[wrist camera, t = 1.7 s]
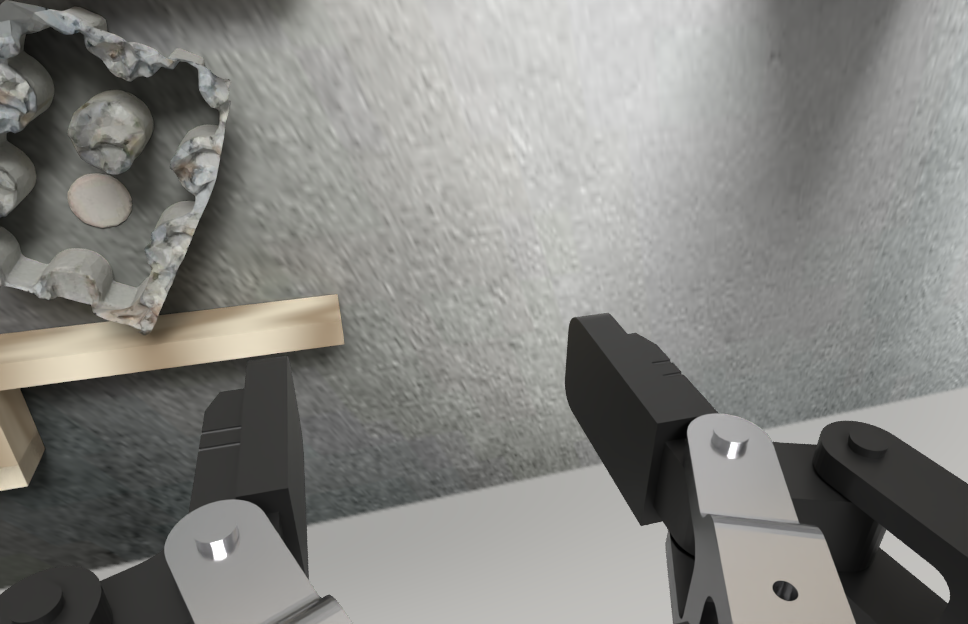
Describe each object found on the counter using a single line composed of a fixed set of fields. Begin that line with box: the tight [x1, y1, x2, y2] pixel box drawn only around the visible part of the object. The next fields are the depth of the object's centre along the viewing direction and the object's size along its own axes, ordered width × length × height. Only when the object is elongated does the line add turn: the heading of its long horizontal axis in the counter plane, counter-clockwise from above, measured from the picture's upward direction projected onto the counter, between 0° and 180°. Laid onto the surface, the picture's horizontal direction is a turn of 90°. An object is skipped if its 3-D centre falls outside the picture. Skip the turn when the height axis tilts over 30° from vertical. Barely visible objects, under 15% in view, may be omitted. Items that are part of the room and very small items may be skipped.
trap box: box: [0, 294, 344, 491], centre depth 24 cm, size 22×26×3 cm
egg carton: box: [0, 0, 231, 335], centre depth 24 cm, size 11×8×4 cm
